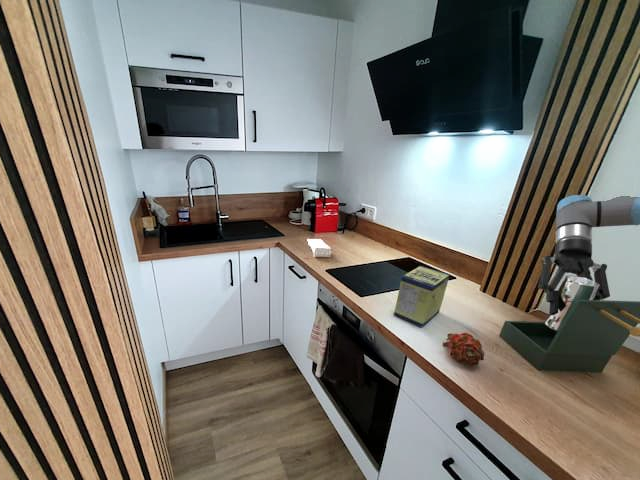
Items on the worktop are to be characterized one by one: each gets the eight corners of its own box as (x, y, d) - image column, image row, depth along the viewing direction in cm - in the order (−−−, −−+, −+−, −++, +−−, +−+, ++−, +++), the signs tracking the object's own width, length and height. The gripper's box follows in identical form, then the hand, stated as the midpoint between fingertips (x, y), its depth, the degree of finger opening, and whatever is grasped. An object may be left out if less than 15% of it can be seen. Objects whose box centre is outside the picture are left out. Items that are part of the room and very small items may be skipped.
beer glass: (581, 336, 78) (608, 287, 72) (553, 333, 79) (577, 285, 73) (562, 322, 85) (586, 276, 78) (537, 319, 85) (558, 274, 79)
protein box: (439, 312, 105) (450, 273, 99) (422, 328, 95) (433, 286, 89) (411, 301, 112) (420, 265, 106) (392, 315, 102) (401, 276, 96)
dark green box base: (498, 335, 92) (504, 320, 90) (552, 337, 92) (560, 322, 90) (538, 370, 78) (546, 353, 76) (602, 372, 78) (612, 355, 76)
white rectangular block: (307, 250, 179) (315, 261, 153) (304, 239, 177) (312, 248, 150) (322, 246, 179) (333, 257, 152) (320, 235, 177) (330, 244, 150)
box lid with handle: (576, 299, 69) (619, 324, 60) (649, 301, 69) (702, 327, 60) (546, 351, 76) (580, 380, 67) (611, 353, 76) (654, 382, 67)
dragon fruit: (472, 379, 76) (443, 355, 88) (499, 362, 76) (467, 339, 87) (459, 357, 74) (431, 335, 86) (487, 339, 74) (455, 319, 85)
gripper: (609, 255, 83) (611, 330, 76) (525, 244, 91) (520, 311, 84) (629, 243, 77) (633, 324, 70) (537, 232, 84) (532, 304, 77)
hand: (571, 317), depth 77 cm, fingers closed on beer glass, 7 cm apart
